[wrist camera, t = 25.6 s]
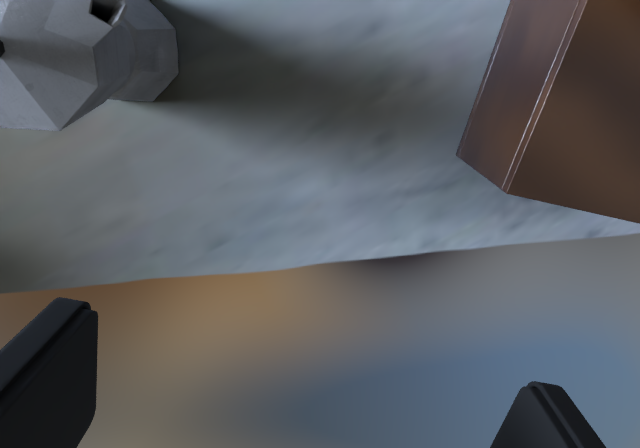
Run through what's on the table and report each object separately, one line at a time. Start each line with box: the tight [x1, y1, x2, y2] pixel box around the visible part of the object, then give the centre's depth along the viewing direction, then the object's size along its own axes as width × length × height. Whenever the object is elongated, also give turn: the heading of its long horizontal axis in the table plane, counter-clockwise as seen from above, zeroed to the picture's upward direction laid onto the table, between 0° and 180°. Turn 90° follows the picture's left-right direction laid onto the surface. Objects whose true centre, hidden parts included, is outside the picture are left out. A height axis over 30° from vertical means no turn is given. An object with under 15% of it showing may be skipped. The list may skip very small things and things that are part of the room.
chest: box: [456, 0, 580, 190], centre depth 33 cm, size 15×13×11 cm
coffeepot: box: [0, 0, 179, 131], centre depth 28 cm, size 15×9×18 cm, turn 110°
